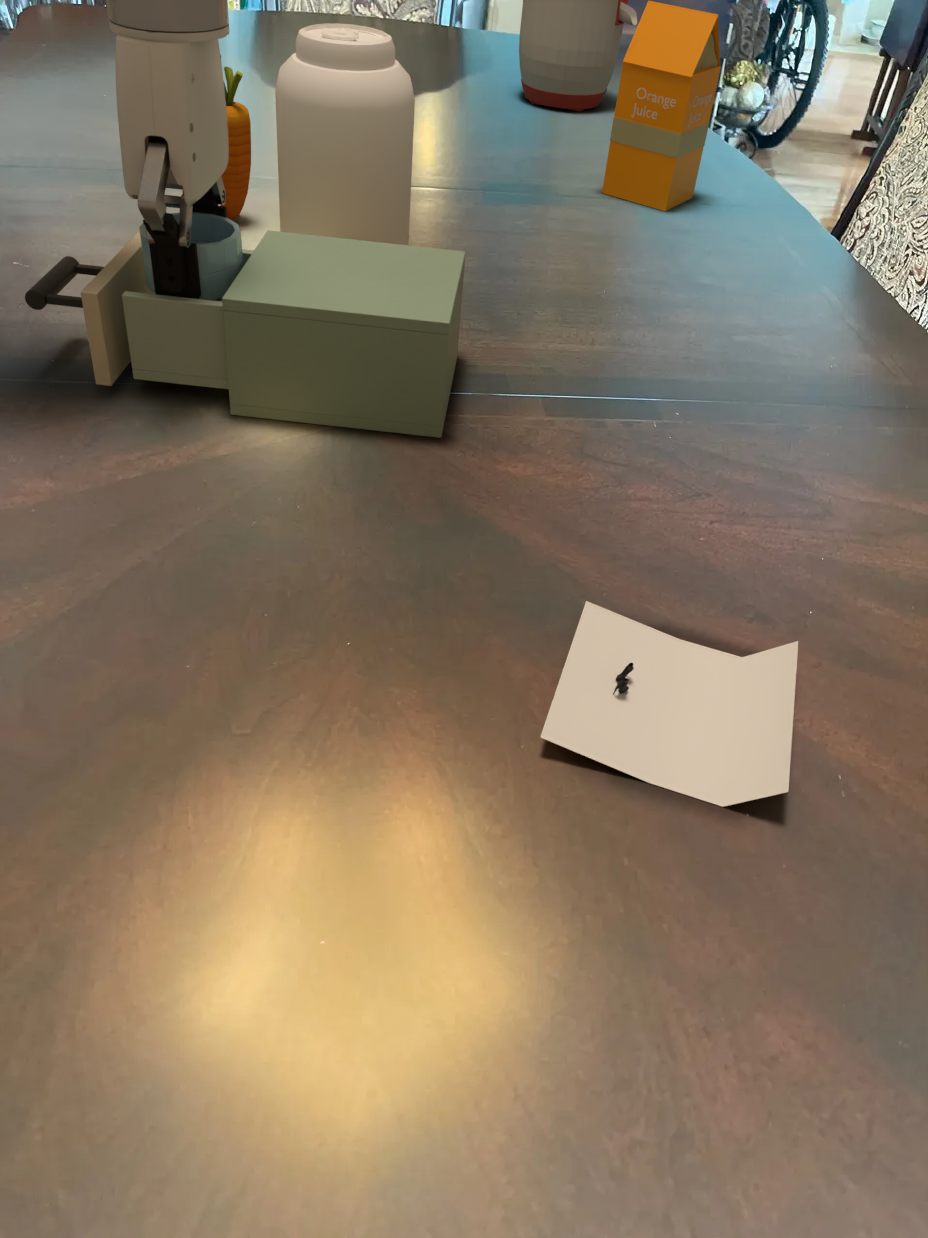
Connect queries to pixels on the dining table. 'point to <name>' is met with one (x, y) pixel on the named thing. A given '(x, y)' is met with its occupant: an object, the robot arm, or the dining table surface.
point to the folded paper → (676, 710)
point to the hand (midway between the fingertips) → (194, 275)
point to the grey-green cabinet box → (344, 333)
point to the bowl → (207, 253)
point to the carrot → (236, 149)
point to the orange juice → (663, 107)
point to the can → (345, 136)
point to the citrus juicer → (570, 50)
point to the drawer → (141, 322)
